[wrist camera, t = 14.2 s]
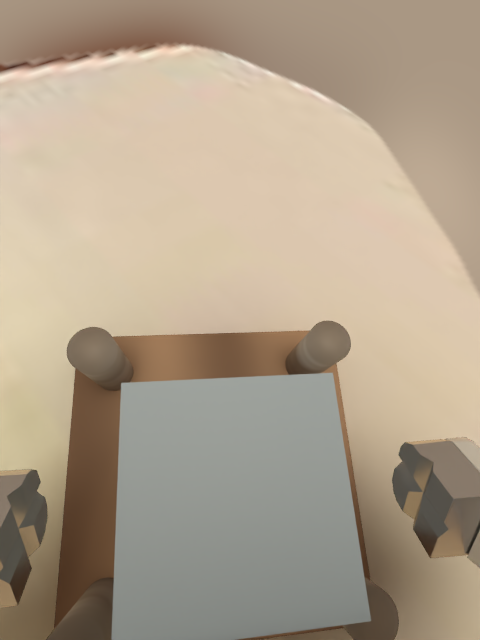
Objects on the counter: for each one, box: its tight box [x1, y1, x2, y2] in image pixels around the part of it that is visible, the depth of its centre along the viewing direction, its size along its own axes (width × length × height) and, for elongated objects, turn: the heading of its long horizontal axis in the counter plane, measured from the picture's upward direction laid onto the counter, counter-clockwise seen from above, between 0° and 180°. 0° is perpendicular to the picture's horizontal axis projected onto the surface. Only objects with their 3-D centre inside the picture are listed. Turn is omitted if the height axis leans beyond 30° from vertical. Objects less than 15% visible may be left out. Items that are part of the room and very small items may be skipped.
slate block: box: [111, 373, 371, 640], centre depth 11 cm, size 4×4×10 cm
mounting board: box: [46, 321, 399, 640], centre depth 14 cm, size 12×12×5 cm
